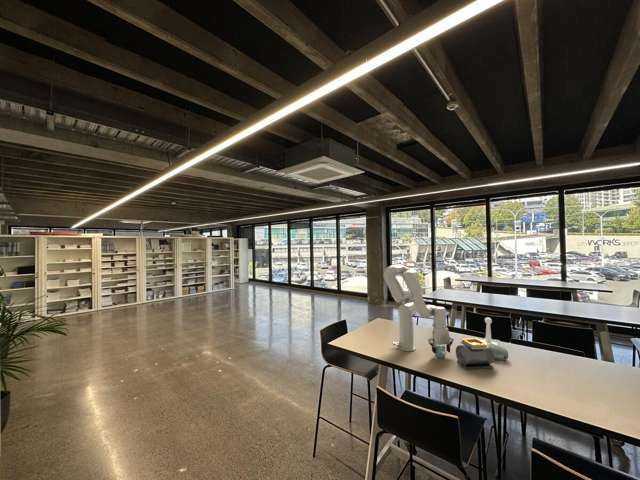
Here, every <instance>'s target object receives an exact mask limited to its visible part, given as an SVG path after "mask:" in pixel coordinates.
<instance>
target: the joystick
mask: <svg viewBox="0 0 640 480" xmlns="http://www.w3.org/2000/svg"><path fill="white" fill-rule="evenodd" d="M492 322H493V320H492V318H491V317H485V318H484V323H486V324H485V325H486V328H485V339H479V340H480V341H482V342H484V343H486V344H487V345H496V346H499V344H498V342H494V341H492V329H491V324H492Z"/></svg>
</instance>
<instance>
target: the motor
mask: <svg viewBox="0 0 640 480" xmlns="http://www.w3.org/2000/svg"><path fill="white" fill-rule="evenodd" d="M480 340H481V339H479V338H476V337H475V338H462V339H461V340H460V341H459V342H460V344H461V345H457V346H456V347H455V355H456V363H457V364H459V365H460V366H461V367H462V368H465V370H467V371H469V370H470V371H471V370H489V369H491V370H493V369H494V366H493V365H492V364H493V363H494V361H495V359H494V353H493V351H492V349H491V348H490V347H489V346H488V345H487V344H486V343H484V342H482V341H480Z"/></svg>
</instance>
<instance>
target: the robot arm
mask: <svg viewBox="0 0 640 480" xmlns="http://www.w3.org/2000/svg"><path fill="white" fill-rule="evenodd" d="M398 276H399V277H401V278H402V279H403V281H404V284H405V285H406V286H407V288H405V287H402V285H401V284H400V281H399V280H398V279H397V278H396V277H398ZM383 278H384V281H385V283H386V285H387V287H388V290H389V291H390V293H391V296H392V298H393V299H394V301H395V302H396V303H401V304H400V305H399V307H398V308H397V313H398V320H399V321H398V322H399V323H398V326H399V331H398V332H399V333H398V335H399V339H398V341H396V342H395V341H394V342H392V345H393V346H396V347H397V348H398V349H399V350H400V351H404V352H413V351H416V350H417V347H416V345H414V341H415V340H414V318H413V315H415V314H416V313H418V316H420V317H421V319H429V318H430V317H433V324H432V325H431V327H432V331H431V332H432V334H431V337H430V338H428V339H427V342H428V343H429V345H430V346H431V351H432V353H433V354H435V353H436V347H435V346H436V344H437V345H445V352H446V353H447V352H448V353H451V347H452V345H453V343H454V341H455V339H454V338H452V337H451V336H450V333H449V332H450V330H449V328H448V327H447V309H446V308H445V307H444V306H437V305H433V304H426V303H425V301H424V297H423V295H424V294H423V293H424V289H423V287H422V285H421V283H420V281H419V273H418V272H417V270H415V269H412V268H410V267H408V266H405V265H402V264H391V265H389V266H388V267H386V269H384V273H383Z"/></svg>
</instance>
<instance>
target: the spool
mask: <svg viewBox="0 0 640 480" xmlns="http://www.w3.org/2000/svg"><path fill="white" fill-rule="evenodd" d="M488 346H489V347H490V348H491V349H492V351H493V353H494V360H497V361H507V360H508V359H509V352H508V350H507V349H506V348H505V347H503V346H499V345H498V346H496V345H488Z"/></svg>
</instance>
